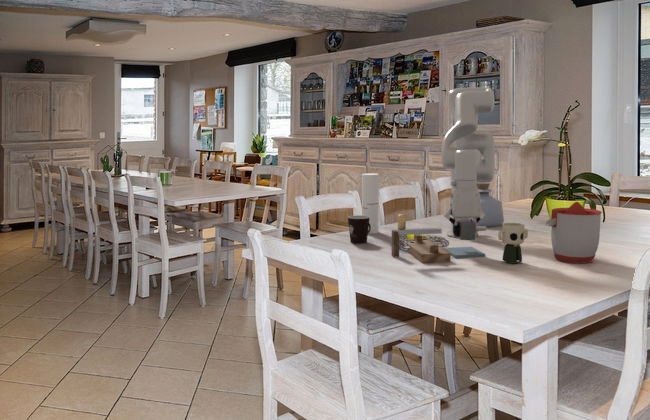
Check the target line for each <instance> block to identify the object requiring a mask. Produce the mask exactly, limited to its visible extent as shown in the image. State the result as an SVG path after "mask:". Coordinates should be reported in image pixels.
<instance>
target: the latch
mask: <svg viewBox="0 0 650 420" xmlns="http://www.w3.org/2000/svg"><path fill="white" fill-rule="evenodd" d="M406 221H407V215H406V214H404V213H401V214H400V213H399V214H397V230H398V234H399V236H404V235H405V236H407V235H411V236H412V235H414V234H420V235H435V234H436V235H437V234H439V235H440V234H442V233H443V232H442V230H443V229H442V228H441V227H425V228H424V227H419V228H413V227H412V228H406V223H407V222H406Z"/></svg>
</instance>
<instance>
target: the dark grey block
mask: <svg viewBox="0 0 650 420" xmlns="http://www.w3.org/2000/svg"><path fill="white" fill-rule="evenodd" d="M458 226H459V236H458V237H456V236H454V237H453V238H456V239H458V240H460V241H475V240H476V237H475V222H472V221H470V220H467V219H464V220H459V222H458Z"/></svg>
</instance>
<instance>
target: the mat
mask: <svg viewBox="0 0 650 420" xmlns="http://www.w3.org/2000/svg"><path fill="white" fill-rule="evenodd" d="M442 248H443V249H445V250H446V251H448V252H449V253H451V258H452V257H453V258H454V259H465V258H466V259H467V258H486V253H484V252H482V251H481V250H479V249H477V248H476V247H474V246H459V247H458V246H455V247H442Z"/></svg>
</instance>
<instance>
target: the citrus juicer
mask: <svg viewBox="0 0 650 420" xmlns="http://www.w3.org/2000/svg"><path fill="white" fill-rule="evenodd" d="M602 213H603V212H602V211H601V210H599V209H593V208H586V207H585V208H584V206H583V205H582V204H581V203H580V202H578V201H575V202H573V203H572V204H571V205H570V206H569V207H557V208H552V209H551V214H550V215H551V217H550V219H548V220H547V221H546V223H545V226H546V227H551V237H550V238H551V246H552V250H553V255H554V258H555V259H556V260H558V261H560V262H563V263H566V264H570V263H575V264H576V263H577V264H590V263H591V262H593V260H594V259H595V257H596V254H597V251H598V248H599V243H600V235H601V233H600V232H601V216H602Z"/></svg>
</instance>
